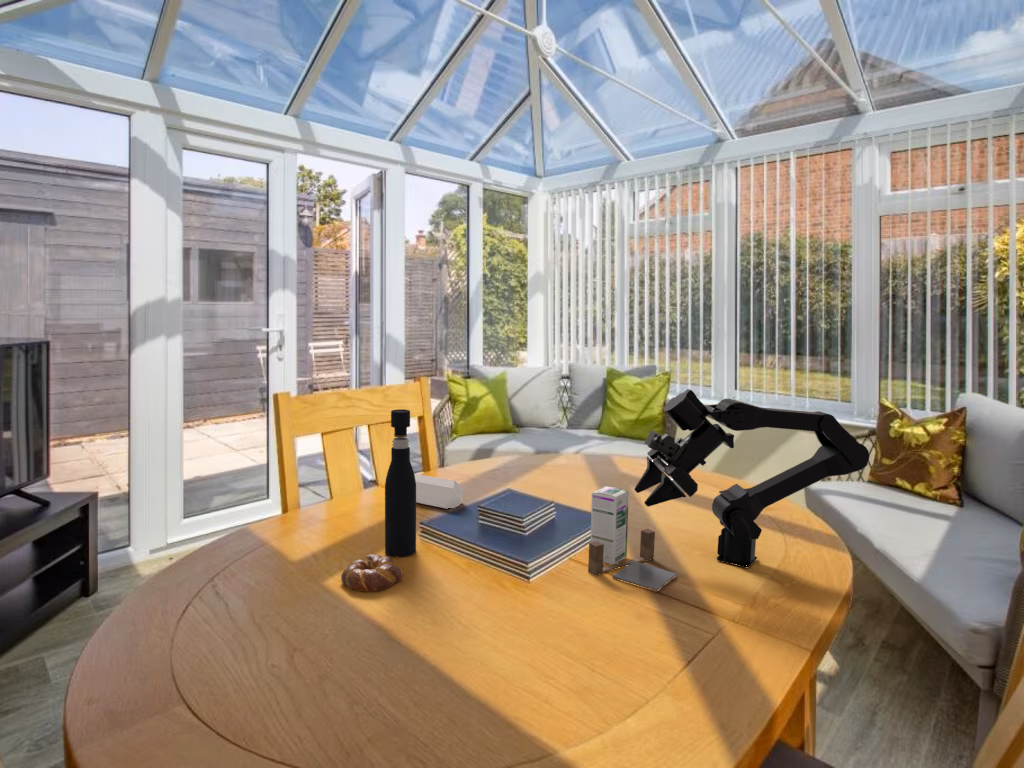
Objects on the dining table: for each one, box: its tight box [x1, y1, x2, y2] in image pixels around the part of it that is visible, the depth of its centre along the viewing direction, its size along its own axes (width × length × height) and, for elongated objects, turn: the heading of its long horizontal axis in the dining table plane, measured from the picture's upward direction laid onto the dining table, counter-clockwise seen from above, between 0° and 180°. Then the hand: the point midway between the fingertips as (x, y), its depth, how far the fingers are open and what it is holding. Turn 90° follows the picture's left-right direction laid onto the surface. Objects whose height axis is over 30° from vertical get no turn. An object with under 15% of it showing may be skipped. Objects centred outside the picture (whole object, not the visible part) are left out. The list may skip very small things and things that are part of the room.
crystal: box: [414, 473, 464, 510], centre depth 158 cm, size 7×7×24 cm
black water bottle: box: [384, 408, 417, 558], centre depth 122 cm, size 6×6×30 cm
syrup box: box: [590, 485, 629, 565], centre depth 122 cm, size 6×6×14 cm
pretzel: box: [340, 553, 403, 592], centre depth 111 cm, size 12×11×4 cm
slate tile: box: [612, 561, 677, 591], centre depth 114 cm, size 9×9×1 cm
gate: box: [587, 528, 656, 577], centre depth 119 cm, size 16×2×6 cm, turn 122°
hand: (640, 497), depth 121 cm, fingers open, 9 cm apart
